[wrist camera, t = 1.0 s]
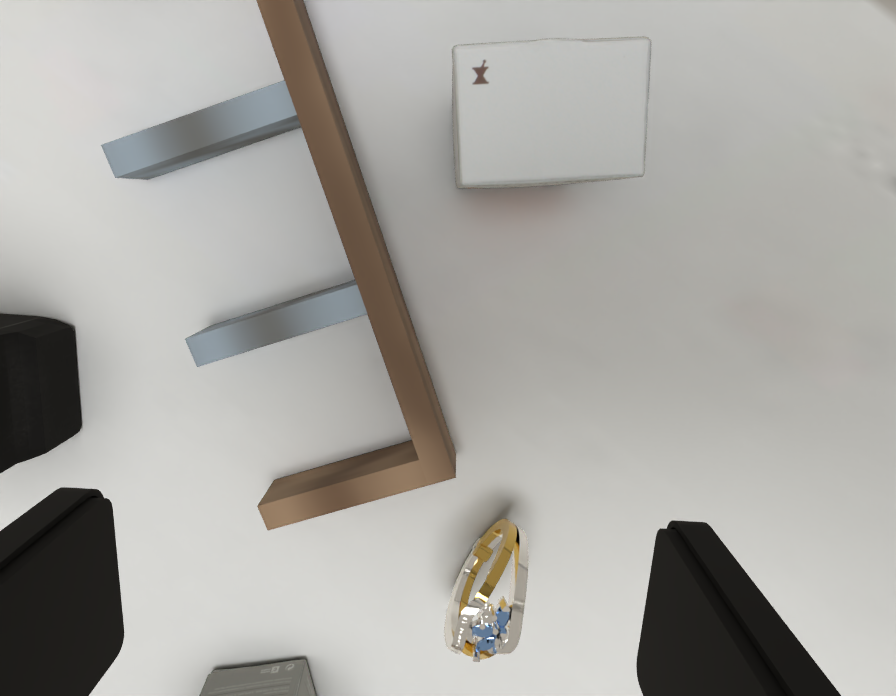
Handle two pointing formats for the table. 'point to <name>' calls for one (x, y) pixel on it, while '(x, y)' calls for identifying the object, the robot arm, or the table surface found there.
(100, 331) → the table surface
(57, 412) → the portable radio
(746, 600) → the robot arm
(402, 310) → the slot rack
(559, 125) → the skincare box
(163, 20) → the table surface
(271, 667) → the skincare box
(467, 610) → the ring
